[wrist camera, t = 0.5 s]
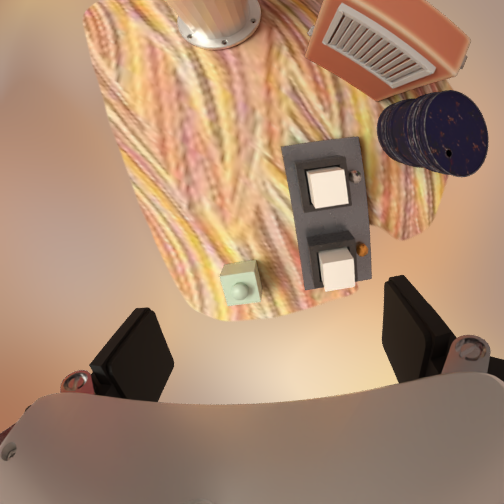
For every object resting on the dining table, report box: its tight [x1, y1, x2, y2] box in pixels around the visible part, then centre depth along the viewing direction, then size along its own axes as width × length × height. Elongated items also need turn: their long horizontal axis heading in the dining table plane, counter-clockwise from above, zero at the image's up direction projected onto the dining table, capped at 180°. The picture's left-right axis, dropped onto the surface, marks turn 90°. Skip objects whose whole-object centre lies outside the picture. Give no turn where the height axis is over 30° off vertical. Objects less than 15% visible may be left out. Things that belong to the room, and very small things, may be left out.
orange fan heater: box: [305, 0, 471, 101], centre depth 23 cm, size 21×7×15 cm
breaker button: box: [306, 166, 349, 209], centre depth 33 cm, size 4×4×5 cm
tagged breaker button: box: [318, 247, 355, 292], centre depth 37 cm, size 4×4×5 cm
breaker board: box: [281, 137, 372, 290], centre depth 39 cm, size 22×11×6 cm, turn 11°
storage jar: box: [377, 90, 488, 177], centre depth 29 cm, size 10×10×15 cm
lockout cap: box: [220, 260, 262, 306], centre depth 44 cm, size 5×5×6 cm
